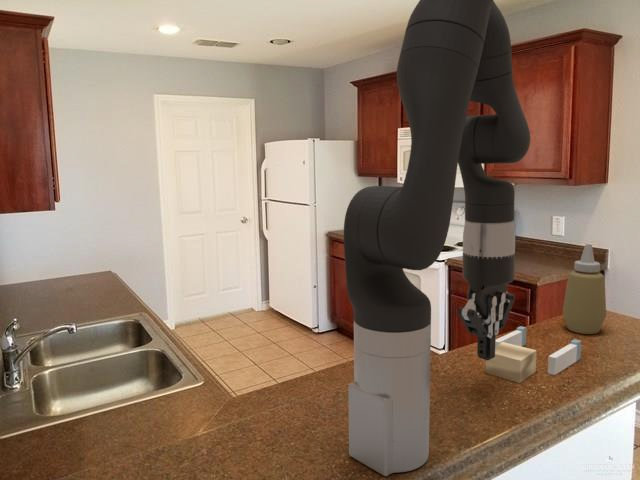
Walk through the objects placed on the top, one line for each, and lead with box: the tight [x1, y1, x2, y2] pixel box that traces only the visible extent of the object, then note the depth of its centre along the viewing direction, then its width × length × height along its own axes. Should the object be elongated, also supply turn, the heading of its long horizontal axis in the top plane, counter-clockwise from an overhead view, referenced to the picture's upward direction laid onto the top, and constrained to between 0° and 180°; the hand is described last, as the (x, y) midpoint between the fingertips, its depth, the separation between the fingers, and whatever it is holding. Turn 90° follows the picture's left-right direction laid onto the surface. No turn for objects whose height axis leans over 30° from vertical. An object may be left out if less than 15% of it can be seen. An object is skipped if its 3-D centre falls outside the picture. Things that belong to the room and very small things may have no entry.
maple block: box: [485, 342, 538, 384], centre depth 88 cm, size 6×6×4 cm
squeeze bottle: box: [562, 244, 607, 335], centre depth 107 cm, size 8×8×18 cm
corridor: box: [495, 325, 582, 376], centre depth 94 cm, size 10×11×3 cm
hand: (486, 357), depth 82 cm, fingers closed
